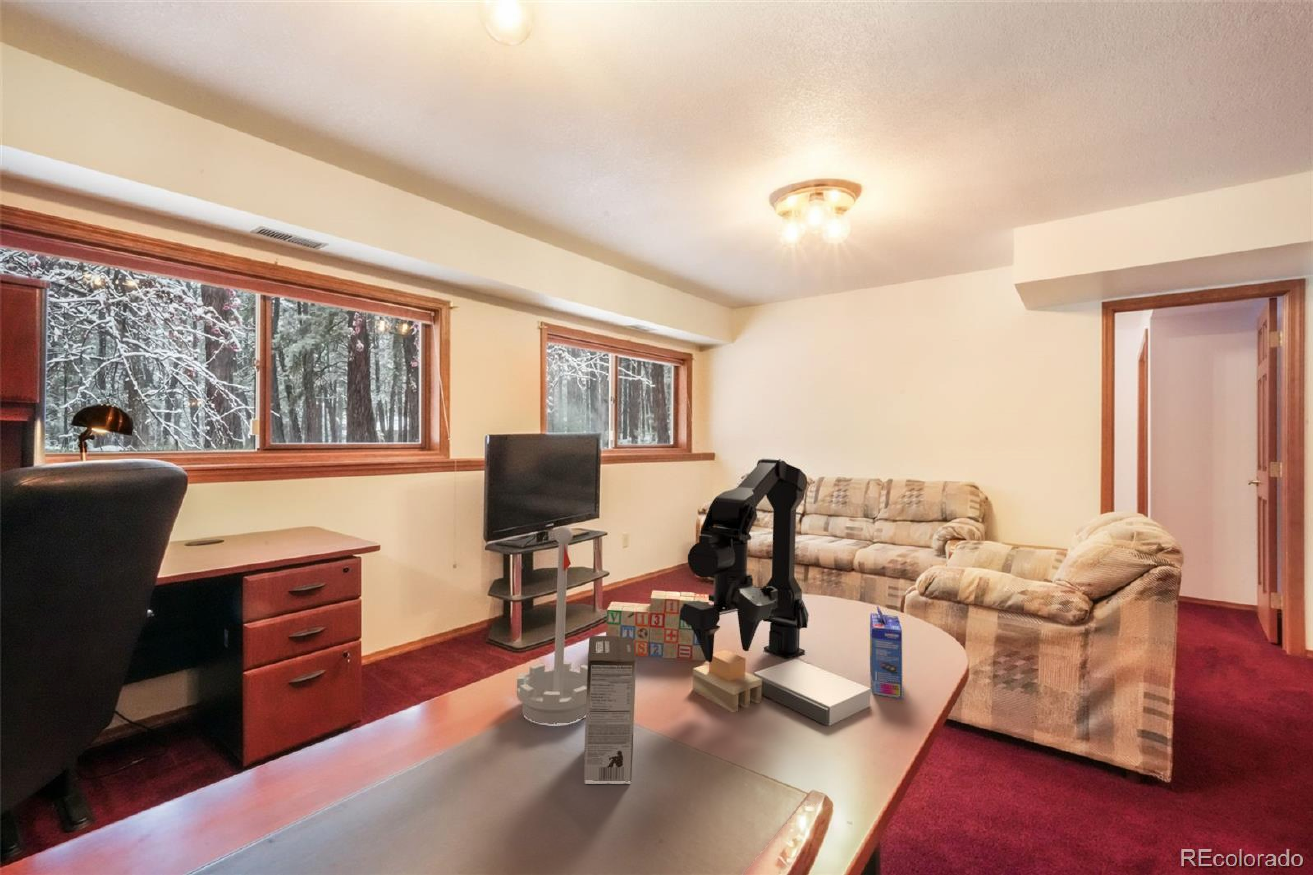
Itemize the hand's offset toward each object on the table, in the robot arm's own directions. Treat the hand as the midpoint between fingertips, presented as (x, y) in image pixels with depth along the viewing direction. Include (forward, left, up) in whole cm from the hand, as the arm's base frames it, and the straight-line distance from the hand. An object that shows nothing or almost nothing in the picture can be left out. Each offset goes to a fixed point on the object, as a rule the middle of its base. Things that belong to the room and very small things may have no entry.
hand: (727, 656), depth 99 cm
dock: (-12, +9, -7) cm, 16 cm away
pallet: (0, 0, -7) cm, 7 cm away
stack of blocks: (-3, -23, -7) cm, 24 cm away
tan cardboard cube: (0, 0, -3) cm, 3 cm away
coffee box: (+29, +6, -7) cm, 31 cm away
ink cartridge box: (-28, +14, -7) cm, 32 cm away
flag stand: (+27, -12, -7) cm, 30 cm away
